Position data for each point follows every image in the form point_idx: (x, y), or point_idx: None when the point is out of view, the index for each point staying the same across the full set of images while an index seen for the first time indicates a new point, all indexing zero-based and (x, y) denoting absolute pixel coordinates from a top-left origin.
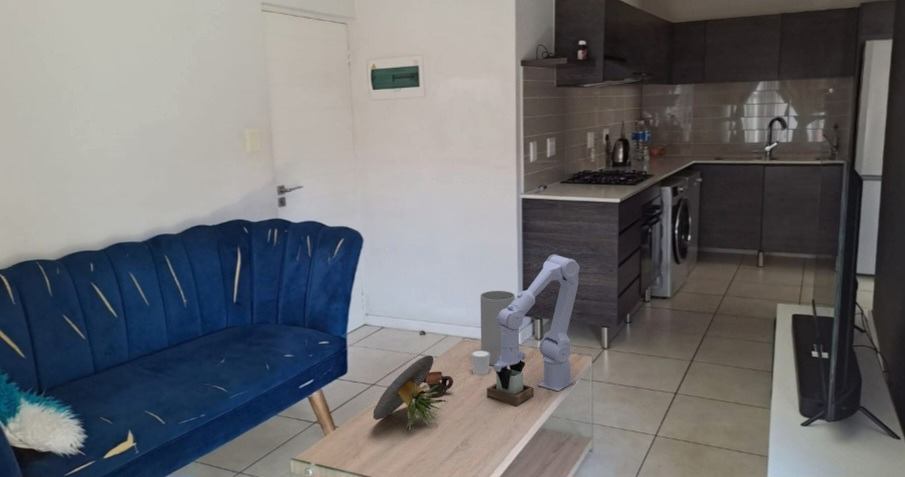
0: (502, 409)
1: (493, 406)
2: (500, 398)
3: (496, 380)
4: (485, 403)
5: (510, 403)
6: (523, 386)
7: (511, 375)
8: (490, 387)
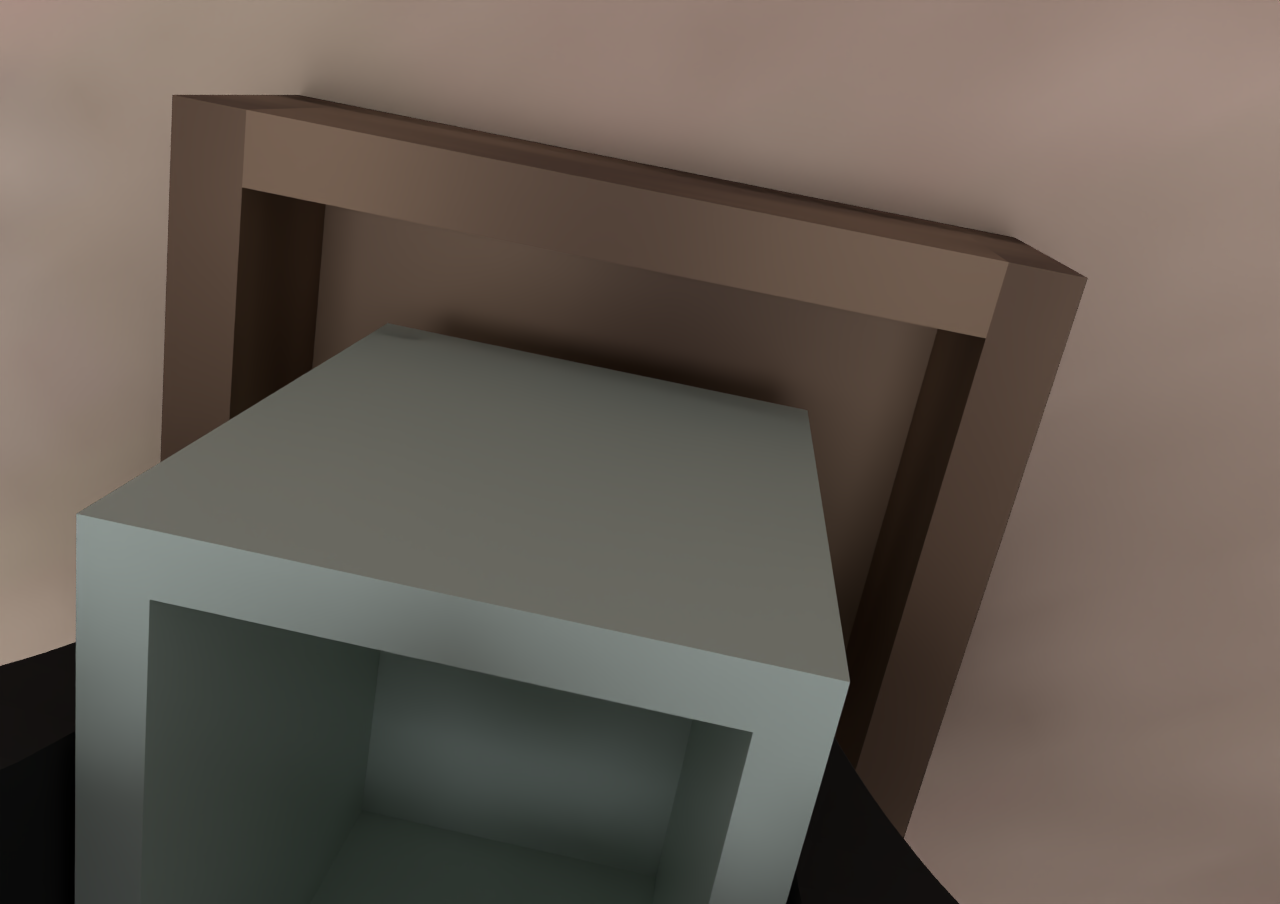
0: (15, 635)
1: (12, 434)
2: None
3: (270, 397)
4: (23, 216)
5: None
6: None
7: (701, 827)
8: (271, 171)
